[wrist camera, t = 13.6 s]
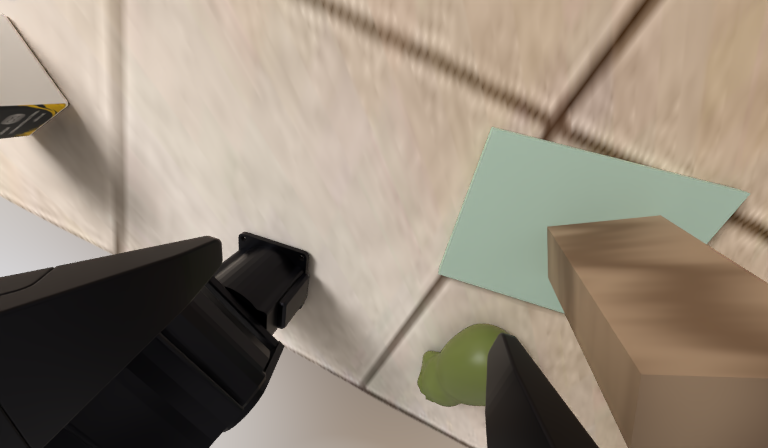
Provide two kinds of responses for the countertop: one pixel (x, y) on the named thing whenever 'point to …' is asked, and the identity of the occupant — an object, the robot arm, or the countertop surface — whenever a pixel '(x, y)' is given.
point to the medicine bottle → (24, 87)
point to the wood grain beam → (666, 331)
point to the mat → (562, 209)
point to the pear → (459, 368)
